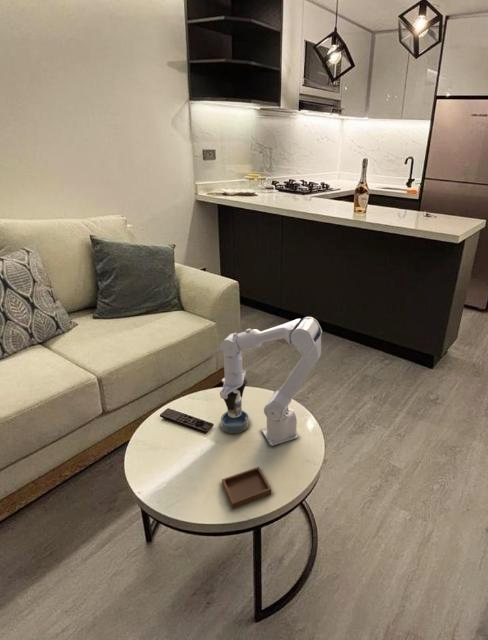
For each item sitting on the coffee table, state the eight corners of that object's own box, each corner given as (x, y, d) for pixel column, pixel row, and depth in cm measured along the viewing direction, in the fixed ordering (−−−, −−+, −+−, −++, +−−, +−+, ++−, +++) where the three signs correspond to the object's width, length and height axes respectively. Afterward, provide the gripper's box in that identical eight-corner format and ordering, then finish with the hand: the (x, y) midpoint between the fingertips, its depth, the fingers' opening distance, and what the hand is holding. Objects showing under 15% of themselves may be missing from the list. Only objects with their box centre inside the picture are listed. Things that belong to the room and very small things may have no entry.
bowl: (243, 413, 145) (243, 406, 144) (252, 429, 138) (252, 422, 136) (218, 420, 141) (217, 413, 140) (226, 437, 134) (225, 430, 132)
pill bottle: (239, 419, 135) (238, 397, 132) (225, 416, 136) (224, 395, 132) (243, 410, 139) (243, 389, 136) (230, 408, 140) (229, 387, 137)
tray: (258, 471, 121) (258, 466, 120) (271, 494, 113) (271, 489, 112) (222, 484, 116) (221, 479, 115) (232, 509, 108) (232, 503, 107)
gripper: (232, 356, 138) (233, 390, 143) (210, 378, 125) (213, 414, 131) (251, 360, 136) (251, 394, 142) (231, 383, 124) (233, 419, 129)
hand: (234, 404), depth 136 cm, fingers closed on pill bottle, 5 cm apart
